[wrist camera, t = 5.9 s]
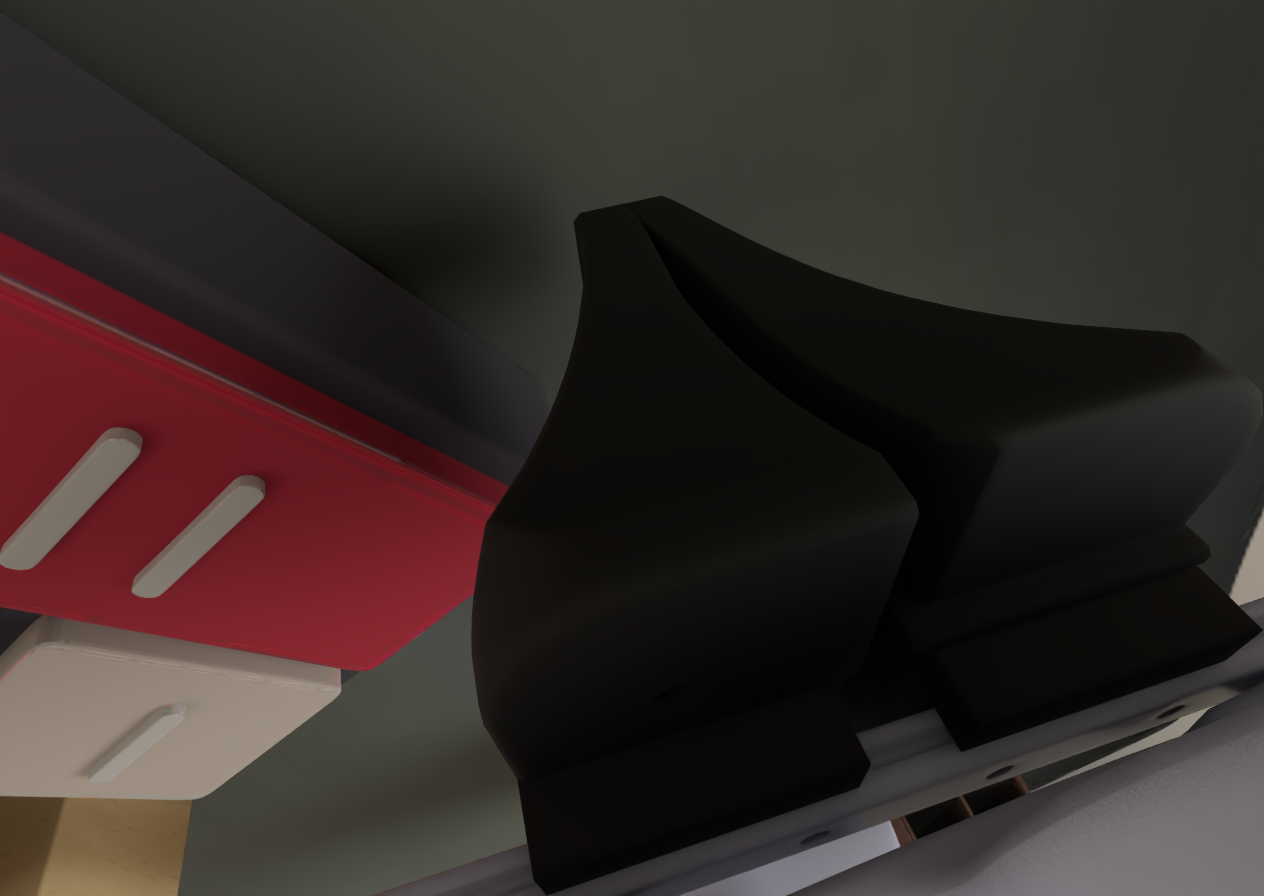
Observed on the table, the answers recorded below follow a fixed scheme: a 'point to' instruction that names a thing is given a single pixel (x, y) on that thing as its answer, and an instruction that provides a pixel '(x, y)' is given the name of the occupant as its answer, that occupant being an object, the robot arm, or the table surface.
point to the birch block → (91, 846)
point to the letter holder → (956, 809)
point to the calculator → (209, 452)
